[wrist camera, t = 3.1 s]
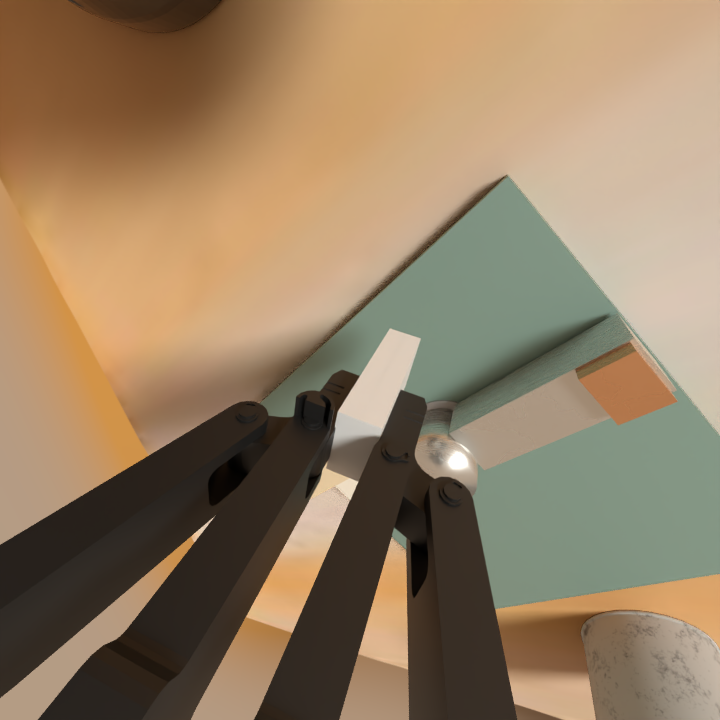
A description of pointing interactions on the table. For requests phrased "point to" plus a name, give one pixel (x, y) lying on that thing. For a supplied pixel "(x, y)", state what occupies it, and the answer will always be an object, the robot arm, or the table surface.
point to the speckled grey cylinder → (651, 667)
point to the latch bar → (545, 403)
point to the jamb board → (557, 459)
